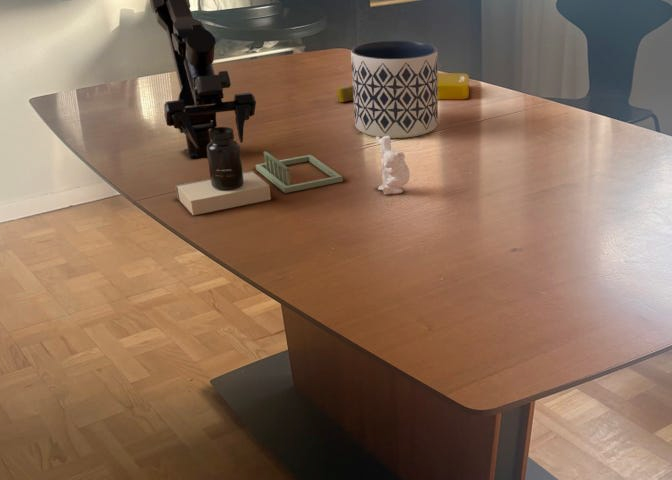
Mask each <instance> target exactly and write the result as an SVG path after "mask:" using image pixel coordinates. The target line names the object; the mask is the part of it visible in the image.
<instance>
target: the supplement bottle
mask: <svg viewBox="0 0 672 480" xmlns="http://www.w3.org/2000/svg"><path fill="white" fill-rule="evenodd" d="M209 133H210V140H211V142H210V143H209V144H208V146H207V156H206V157H207V162H208V163H207V165H208V170H209V177H210V178H209V179H211V185H212V186H213V187H214V188H215V189H218V190H233V189H237V188H240V187H241V186H242V185H243V183H244V179H243V173H244V171H243V163H242V153H241V146H240V144H239V143H238V142H237V141H236V140H235V135H234V134H235V133H234V128H232V127H228V126H219V127H218V126H217V127H216V128H213V129H209Z"/></svg>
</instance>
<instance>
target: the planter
mask: <svg viewBox="0 0 672 480" xmlns="http://www.w3.org/2000/svg"><path fill="white" fill-rule="evenodd" d="M350 56H351V57H350V61H351V80H352V81H351V82H352V85H353V99H354V100H353V114H354V125H355V128H356V129H357V131H360V133H363V134H365V135H367V136H371V137H375V138H376V137H377V136H379V137H380V138H383V137H384V136H390V139H406V138H415V137H419V136H423V135H426V134H429V133H430V132H432V131H434V130H435V129H436V128H437V127H438V125H439V100H438V73H439V71H438V69H439V68H438V67H439V66H438V64H439V62H438V47H436V46H435V45H433V44H431V43H428V42H423V41H417V40H416V41H415V40H400V39H399V40H398V39H397V40H396V39H394V40H393V39H391V40H377V41H369V42H364V43H360V44H357V45H355V46H353V47H352V48H351V50H350Z"/></svg>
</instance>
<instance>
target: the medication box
mask: <svg viewBox="0 0 672 480" xmlns="http://www.w3.org/2000/svg"><path fill="white" fill-rule="evenodd" d="M336 94H337V95H336V96H337V102H339V103H345V102H351V101H354V99H353V84H350V85H346V86H340V87H337V88H336Z"/></svg>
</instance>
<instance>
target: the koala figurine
mask: <svg viewBox="0 0 672 480" xmlns="http://www.w3.org/2000/svg"><path fill="white" fill-rule="evenodd" d="M391 139H392V138H390V136H384V137H383V138H382V137H379V136H377V137H375V140H376V142H377V143H378V145H379V146H380V149H379V151H380V155H381V157H380V158H381V162H380V163H381V172H382V173H381V178H382V179H381V180H382V184H380V185H379V186H378V187H377V190H379V191H381V192H383V195H391V194H392V195H393V194H394V195H395V194H401V193H403V191H404V190H403V189H402V187H405V186H406V185H407V184H408V182H409V181H410V173H411V172H410V168H409V167H408V165H407V162H406V161H405V157H406V156H405V154H404V152H403V151H396V150H392V140H391Z"/></svg>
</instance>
